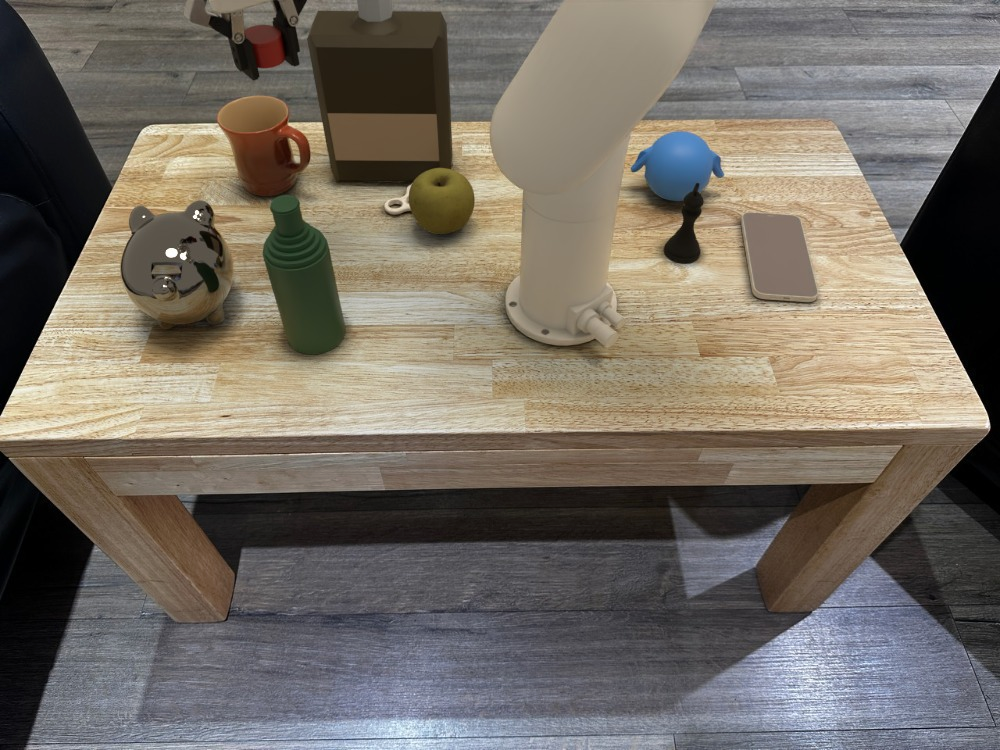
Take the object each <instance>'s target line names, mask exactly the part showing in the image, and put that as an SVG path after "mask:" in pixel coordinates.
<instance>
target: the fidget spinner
mask: <svg viewBox="0 0 1000 750" xmlns="http://www.w3.org/2000/svg"><path fill="white" fill-rule="evenodd" d="M411 185H412V183H411V184H409V185H408V186H407V187H406V189H405V195H403V196H401V197H393V198H390V199H389V198H388V199H387V200H386V201H385V203H384V204H383V208H384V210H385V212H386V213H388V214H390V215H400V214H402V213H403V214H404V213H405V212H411V209H410V206H409V190H410V187H411ZM392 205H400V207H397V208H393V207H390V206H392Z"/></svg>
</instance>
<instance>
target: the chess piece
mask: <svg viewBox="0 0 1000 750" xmlns="http://www.w3.org/2000/svg"><path fill="white" fill-rule="evenodd" d="M699 185H700V184H699V183H696V185H695V187H694V189H693V191H692V192H690V193H688V194H687V195H686V196H685V197H684V200H683V205H682V207H681V210H680V211H681V216H682V219H683V220H682V223H681V225H680V227H679V229H678V230H676V231H675V233H674V234H673V235H671V237H670V238H669V239H668V240H667V241H666V242H665V244H664V245H663V253H664V255H665V257H666V258H667V259H669V260H671V261H673V262H675V263H677V264H678V263H679V264H690V263H694V262H696V261H697V260H698V259H699V258H700V256H701V254H702V253H701V250H702V249H701V247H700V243H699V240H698V239H697V235H696V233H695V223H696V221H697V219H698V218H699V217H700V216H701V214H702V211H703V210H702V207H703V205H704V203H705V199H704V197H703V195H702V193H701V192H700V193H699V192H698V189H699Z"/></svg>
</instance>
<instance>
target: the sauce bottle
mask: <svg viewBox="0 0 1000 750" xmlns="http://www.w3.org/2000/svg"><path fill="white" fill-rule="evenodd" d="M269 206H270V207H269V210H270V212H271V214H272V218H273V222H274V226H273V228H272V230H271V231H270V233H269V234H268V236H267V237H266V238H265V240H264V243H263V248H262V259H263V261H264V265H265V268H266V272H267V275H268V279H269V282H270V285H271V288H272V289H271V290H272V293H273V297H274V299H275V302H276V306H277V309H278V313H279V317H280V320H281V323H282V327H283V330H284V334H285V338H286V341H287V343H288V345H289V346H290V347H291V348H292V349H293V350H294V351H297V352H298V353H300V354H304V355H320V354H324V353H328V352H330V351H332V350H333V349H335V348H336V347H338V346H339V345H340V344H341V342H342V341H343V340H344V338H345V336H346V325H345V319H344V315H343V310H342V304H341V300H340V295H339V289H338V285H337V281H336V280H337V279H336V276H335V275H336V274H335V270H334V265H333V260H332V254H331V251H330V246H329V241H328V240H327V238H326V237H325V236H324V234H323V233H322V231H321V230H320V229H318V228H316V227H314V226H313V225H311V224H310V223H308V222H307V221H306V220H304V219H303V215H302V210H301V202H300V200H299V198H297V196H294V195H291V194H282V195H281V194H280V195H277V196H276V197H274V198H273V199H272V200H271V202H270V205H269Z"/></svg>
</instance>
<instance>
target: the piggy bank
mask: <svg viewBox="0 0 1000 750" xmlns="http://www.w3.org/2000/svg"><path fill="white" fill-rule="evenodd" d="M215 221H216V214H215V212H214V209H213V207H212V206H211V204H209V203H208V202H207V201H205V200H202V199H199V200H195V201H192V202H191V203H190V204H189V205H188V206H187V207H186V208H185V209H184V210H183V211H168V212H163V213H159V214H154V213H153V212H152V211H151V210H150V209H149V208H148V207H147V206H145V205H137V206H135V207H134V208H133V209H132V210H131V211H130V214H129V218H128V227H129V229H130V233H131V234H130V236H129V238H128V240H127V242H126V244H125V246H124V248H123V251H122V254H121V258H120V263H119V264H120V265H119V275H120V279H121V280H120V281H121V284H122V288H123V289H124V291H125V293H126V295H127V296H128V298H129V299H130V301H131V302H132V303H133V305H134V306H136V308H138V309H139V310H140V311H141V312H143V313H144V314H145V315H147V316H149V317H150V318H152V319H154V320H156V321H157V324H158V326H159V327H160V328H161V329H163V330H170V329H172V328H174V327H175V326H176V325H187V324H194V323H197V322H200V321H201V320H204V319H206V321H207V322H208V324H209V323H210V324H211V325H212V324H213V325H218V324H221V323H222V322H223V321H224V320H225V311H224V307H223V303H224V302H225V300H226V299H227V297H228V296H229V293H230V291H231V288H232V286H233V285H232V284H233V280H234V259H233V255H232V251H231V248H230V246H229V244H228V242H227V240H226V239H225V237H224V236H223V234H222V233H221V232H220V231H219V230H218V228H216V226H215V223H216V222H215Z"/></svg>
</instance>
